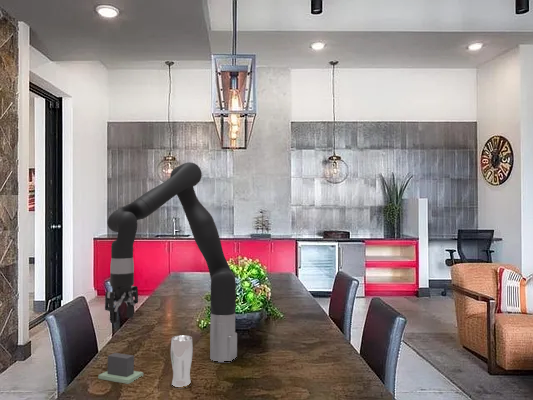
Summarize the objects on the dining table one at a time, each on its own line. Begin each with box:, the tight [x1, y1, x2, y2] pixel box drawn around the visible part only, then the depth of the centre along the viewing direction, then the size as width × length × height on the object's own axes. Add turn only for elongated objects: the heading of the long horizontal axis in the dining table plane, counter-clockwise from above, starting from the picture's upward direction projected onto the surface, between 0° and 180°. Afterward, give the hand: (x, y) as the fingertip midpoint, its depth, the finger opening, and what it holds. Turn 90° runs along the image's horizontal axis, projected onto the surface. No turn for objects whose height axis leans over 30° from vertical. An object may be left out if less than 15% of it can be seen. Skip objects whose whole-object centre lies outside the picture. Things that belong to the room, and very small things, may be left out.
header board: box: [97, 370, 144, 385], centre depth 165 cm, size 12×8×5 cm, turn 68°
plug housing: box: [107, 352, 135, 377], centre depth 165 cm, size 8×4×6 cm, turn 69°
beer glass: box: [170, 334, 194, 387], centre depth 158 cm, size 7×7×15 cm
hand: (122, 320), depth 165 cm, fingers open, 8 cm apart
